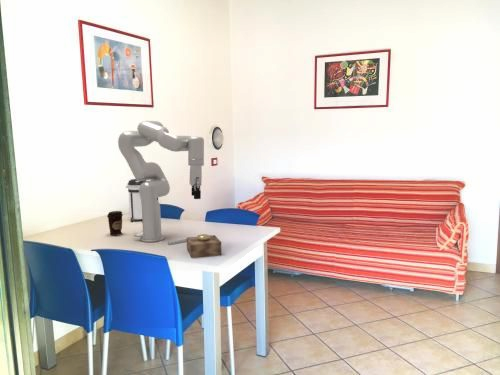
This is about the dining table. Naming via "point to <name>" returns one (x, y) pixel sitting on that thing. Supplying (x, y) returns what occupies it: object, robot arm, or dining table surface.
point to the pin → (203, 237)
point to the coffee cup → (115, 222)
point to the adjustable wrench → (178, 241)
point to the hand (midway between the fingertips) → (195, 197)
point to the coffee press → (135, 199)
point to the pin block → (203, 247)
